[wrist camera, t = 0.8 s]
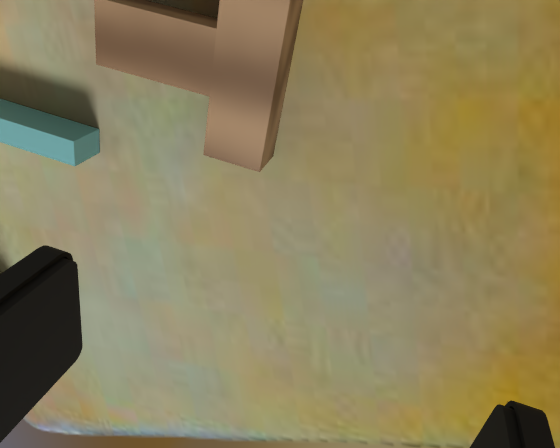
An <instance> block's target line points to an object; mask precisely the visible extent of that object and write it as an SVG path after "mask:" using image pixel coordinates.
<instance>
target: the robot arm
mask: <svg viewBox="0 0 560 448" xmlns="http://www.w3.org/2000/svg"><path fill="white" fill-rule="evenodd" d="M81 350H82V332H81V316H80V300H79V284H78V269H77V264H76V262H74V261H73V258H72V256H71V254H70V253H68V252H65V251H62V250H59V249H56V248H53V247H50V246H42V247H40V248H38V249H36V250H35V251H33V252H32V253H31V254H29V255H28V256H26V257H25V258H23V259H22V260H20V261H19V262H17V263H16V264H15V265H13V266H12V267H10V268H9V269H7V270H6V271H4V272H3V273H2V274H0V442H1V441H2V440H3V439H4V438H5V437H6V436H7V435H8V434H9V433H10V432H11V431H12V429H13V428H14V427H15V426H16V425H17V424H18V423H19V422H20V421H21V420H22V419H23V418H24V416H25V415H26V414H27V413H28V412H29V411H30V410H31V409H32V408H33V407H34V406H35V405H36V403H37V402H38V401H39V400H40V399H41V398H42V397H43V396H44V395H45V394H46V393H47V392H48V391H49V389H50V388H51V387H52V386H53V385H54V384H55V383H56V382H57V381H58V380H59V379H60V378H61V376H62V375H63V374H64V373H65V372H66V371H67V370H68V369H69V368H70V367H71V366H72V365H73V363H74V362H75V361H76V360H77V359H78V357H79V355H80V353H81ZM470 448H555V446H554V442H553V439H552V435H551V431H550V427H549V424H548V420H547V417H546V415H545V413H544V412H543V411H542V410H539V409H536V408H533V407H530V406H527V405H524V404H521V403H518V402H515V401H509V402H508V403H507V404H506V405H505V406H503V405H500V404H499V405H497V406H496V407H495V408H494V410H493V411H492V413H491V415H490V416H489V418H488V419H487V421H486V423H485V424H484V426H483V427H482V429H481V431H480V432H479V434H478V435H477V437H476V439H475V440H474V442H473V443H472V445H471V447H470Z"/></svg>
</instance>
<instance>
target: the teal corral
mask: <svg viewBox="0 0 560 448" xmlns="http://www.w3.org/2000/svg"><path fill="white" fill-rule="evenodd" d="M0 142H2V143H5V144H8V145H11V146H14V147H17V148H20V149H23V150H26V151H30V152H33V153H36V154H39V155H42V156H45V157H48V158H51V159H54V160H57V161H60V162H63V163H66V164H70V165H73V166H76V165H78V164H80V163H82V162H84V161H85V160H87V159H89V158H91V157H93V156H94V155H96V154H98V153H100V148H99V129H97V128H94V127H91V126H87V125H84V124H81V123H78V122H74V121H71V120H68V119H65V118H61V117H58V116H55V115H52V114H48V113H45V112H42V111H39V110H36V109H32V108H29V107H26V106H23V105H19V104H16V103H13V102H10V101H6V100H3V99H0Z"/></svg>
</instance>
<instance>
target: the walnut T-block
mask: <svg viewBox="0 0 560 448" xmlns="http://www.w3.org/2000/svg"><path fill="white" fill-rule="evenodd" d="M94 3H95V38H96V64H97V65H101V66H104V67H108V68H111V69H115V70H118V71H122V72H125V73H129V74H132V75H136V76H139V77H143V78H146V79H150V80H153V81H157V82H161V83H164V84H168V85H171V86H175V87H178V88H182V89H185V90H189V91H192V92H196V93H199V94H203V95H206V96H210V98H209V107H208V117H207V127H206V136H205V146H204V155H206V156H209V157H212V158H215V159H219V160H222V161H225V162H229V163H232V164H235V165H238V166H242V167H245V168H248V169H251V170H255V171H258V172H260V171H261V170H262V168H263V167H264V166H265V165H266V164H267V163H268V161H269V160H270V159H271V158H272V157H273V153H274V148H275V143H276V138H277V133H278V127H279V122H280V117H281V112H282V107H283V101H284V96H285V91H286V86H287V81H288V75H289V70H290V65H291V60H292V55H293V50H294V44H295V39H296V34H297V29H298V24H299V18H300V13H301V8H302V3H303V0H220V1H219V11H218V19H217V18H213V17H209V16H205V15H202V14H198V13H194V12H190V11H186V10H182V9H178V8H174V7H170V6H166V5H163V4H159V3H155V2H151V1H147V0H94Z"/></svg>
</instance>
